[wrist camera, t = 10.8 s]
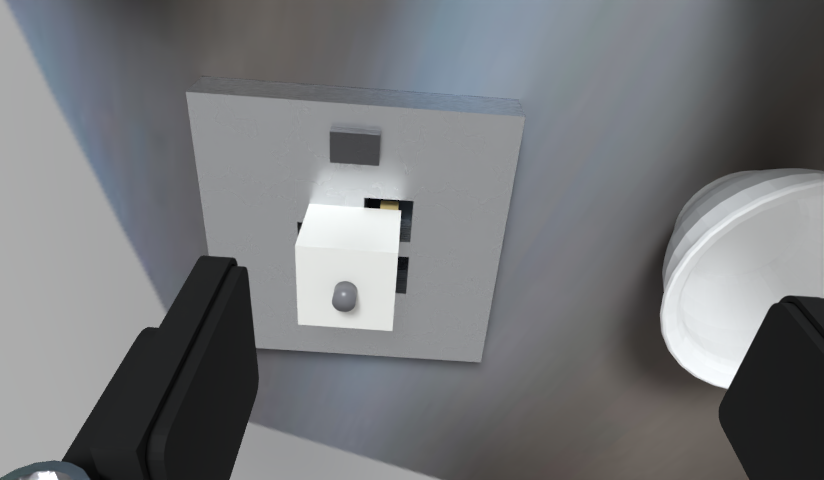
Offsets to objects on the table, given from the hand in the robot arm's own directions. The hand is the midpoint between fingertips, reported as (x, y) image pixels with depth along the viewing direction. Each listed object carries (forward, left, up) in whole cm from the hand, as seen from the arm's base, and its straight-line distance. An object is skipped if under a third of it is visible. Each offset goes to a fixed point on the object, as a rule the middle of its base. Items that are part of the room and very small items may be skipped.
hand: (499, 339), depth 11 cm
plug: (+5, +15, -27) cm, 31 cm away
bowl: (-22, +13, -28) cm, 38 cm away
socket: (+5, +15, -28) cm, 32 cm away
